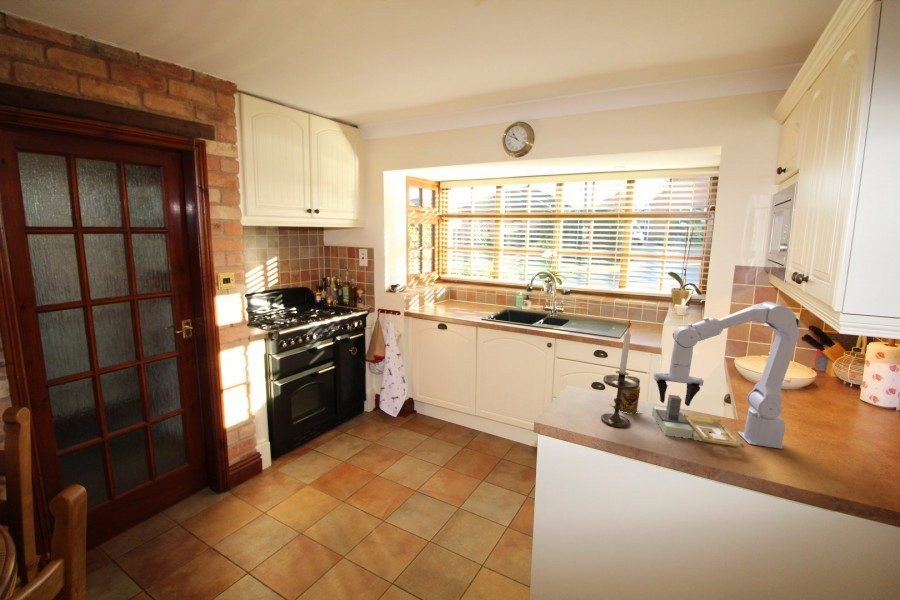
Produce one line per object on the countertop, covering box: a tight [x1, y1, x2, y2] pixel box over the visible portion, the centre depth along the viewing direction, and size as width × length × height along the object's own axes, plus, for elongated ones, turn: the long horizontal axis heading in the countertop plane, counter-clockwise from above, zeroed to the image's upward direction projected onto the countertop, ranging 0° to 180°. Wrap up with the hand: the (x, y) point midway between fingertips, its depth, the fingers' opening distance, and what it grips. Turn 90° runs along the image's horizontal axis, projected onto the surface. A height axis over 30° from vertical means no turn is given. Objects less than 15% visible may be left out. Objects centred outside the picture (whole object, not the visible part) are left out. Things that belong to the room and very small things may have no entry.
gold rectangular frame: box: [683, 413, 745, 448], centre depth 135 cm, size 11×18×2 cm, turn 169°
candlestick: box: [600, 319, 640, 429], centre depth 140 cm, size 11×11×35 cm
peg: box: [656, 394, 689, 424], centre depth 142 cm, size 8×8×9 cm
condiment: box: [610, 375, 643, 415], centre depth 154 cm, size 7×8×12 cm
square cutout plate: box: [651, 406, 693, 439], centre depth 142 cm, size 8×16×3 cm, turn 169°
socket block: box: [688, 422, 735, 443], centre depth 138 cm, size 11×11×2 cm
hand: (674, 403), depth 141 cm, fingers open, 7 cm apart
